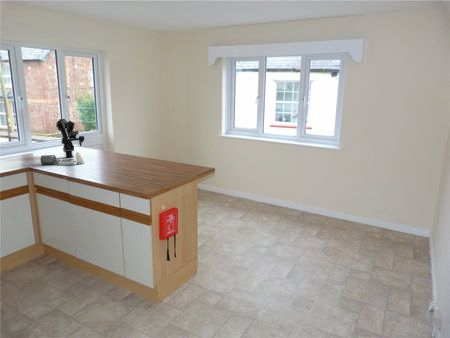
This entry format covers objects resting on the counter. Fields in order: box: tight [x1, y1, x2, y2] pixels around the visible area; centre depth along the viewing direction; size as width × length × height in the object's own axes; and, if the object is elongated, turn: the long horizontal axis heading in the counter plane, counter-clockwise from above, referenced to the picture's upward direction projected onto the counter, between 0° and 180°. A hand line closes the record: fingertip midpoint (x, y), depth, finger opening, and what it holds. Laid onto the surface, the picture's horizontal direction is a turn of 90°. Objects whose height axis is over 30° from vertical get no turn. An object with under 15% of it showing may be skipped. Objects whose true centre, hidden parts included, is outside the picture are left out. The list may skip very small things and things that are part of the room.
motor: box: [40, 154, 77, 167], centre depth 295 cm, size 12×26×8 cm, turn 98°
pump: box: [75, 151, 85, 166], centre depth 295 cm, size 6×6×10 cm
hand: (75, 147), depth 298 cm, fingers open, 9 cm apart
